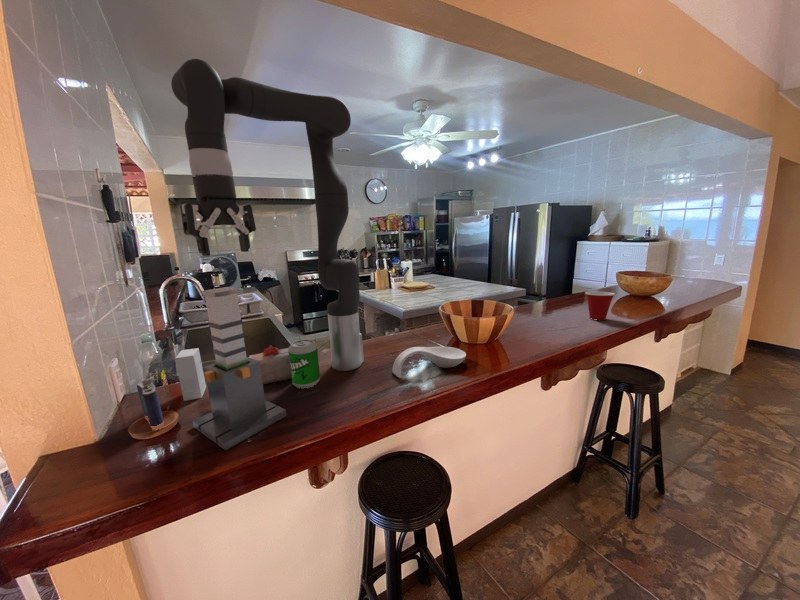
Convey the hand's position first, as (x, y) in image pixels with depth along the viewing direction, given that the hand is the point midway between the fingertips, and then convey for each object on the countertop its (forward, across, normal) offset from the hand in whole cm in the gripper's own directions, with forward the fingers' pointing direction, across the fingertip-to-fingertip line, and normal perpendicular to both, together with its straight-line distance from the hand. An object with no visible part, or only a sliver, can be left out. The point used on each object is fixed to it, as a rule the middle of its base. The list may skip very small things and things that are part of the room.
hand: (226, 253), depth 70 cm
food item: (+38, -12, -8) cm, 41 cm away
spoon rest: (+39, -42, +27) cm, 63 cm away
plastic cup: (+40, -122, +66) cm, 144 cm away
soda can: (+38, -15, +3) cm, 41 cm away
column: (+31, +5, +4) cm, 32 cm away
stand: (+37, +5, +4) cm, 38 cm away
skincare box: (+38, +5, -19) cm, 42 cm away
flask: (+37, +16, -13) cm, 43 cm away
